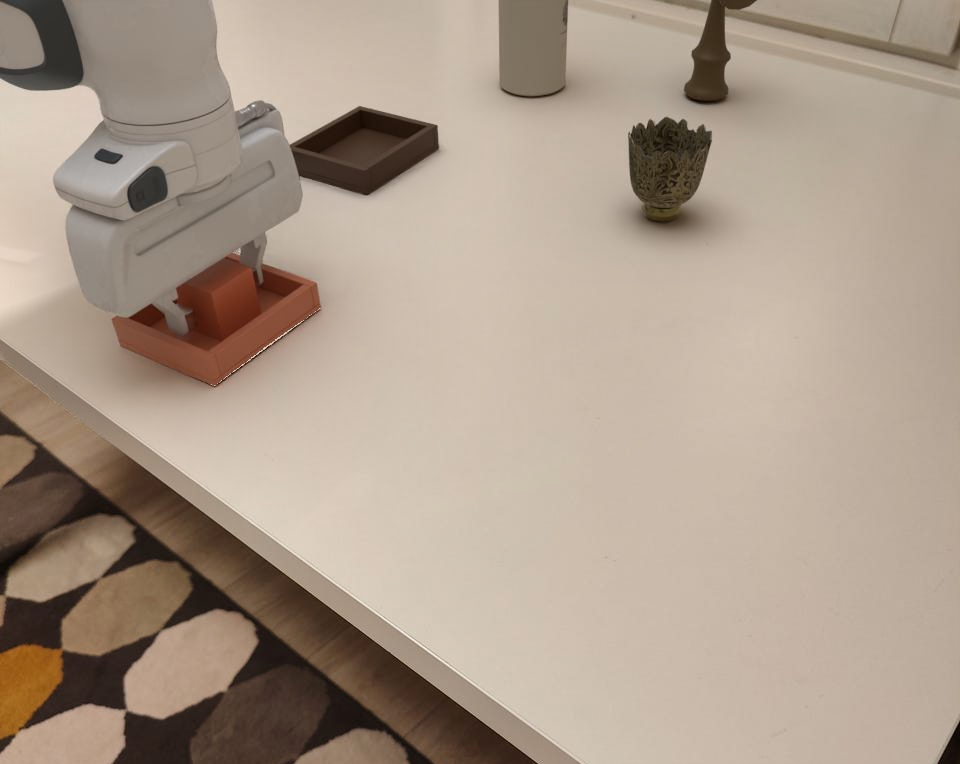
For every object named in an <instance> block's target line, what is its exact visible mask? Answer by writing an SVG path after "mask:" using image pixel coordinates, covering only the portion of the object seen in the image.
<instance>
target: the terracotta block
mask: <svg viewBox="0 0 960 764" xmlns="http://www.w3.org/2000/svg"><path fill="white" fill-rule="evenodd" d="M176 291H177V294H178V298H177V299H176V300H177V303H178V304H180V305H183V306H184V307H188V308H191V309H193V310H194V313H195V321H197V327H196V328H195V329H193V330H195V331H198V332H200V333H203V334H205V335H208V336H210V337H213V338H215V339H218V340H220V341H223V340H225V339H226V338H228V337H229V336H230V335H232V334H233V333H235V332H236V331H238V330H239V329H240V328H242V327H243V326H245V325H246V324H248V323H249V322H251V321H252V320H253V319H255V318H256V317H258V316H259V315H261V310H260V305H259V300H258V296H257V291H256V287H255V282H254V277H253V273H252V268H251V267H248V266H246V265H243V264H240V263H237V262H234V261H232V260H229V259H226V258H223V259H222V260H220V261H218V262H217V263H215V264H214V265H212V266H210V267H209V268H207V269H206V270H204V271H202V272H201V273H199V274H198V275H196V276H194V277H193V278H191V279H190V280H188V281H186V282H185V283H183V284H182V285H180V286H178V287H177V288H176Z"/></svg>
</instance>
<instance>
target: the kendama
mask: <svg viewBox="0 0 960 764" xmlns="http://www.w3.org/2000/svg"><path fill="white" fill-rule="evenodd" d="M757 1H758V0H710V5H709V8H708V12H707V15H706V20H705V24H704V27H703V30H702V34H701V36H700V40H699V42H698V44H697V45H696V47H694V48H693V49H692V50H691V58H692V60H693V70H692V74H691V77H690V79H689V80H688V81H686V83H685V84H684V87H683V92H684V93H685V95H687V97H689V98H691V99H692V100H693V99H694V100H698V101H703V102H711V101H718V100H722V99H724V98H726V97H727V96H728V95H729V86H728V85H727V83H726V78H725V70H726V66H727V64H728V62H730V60H731V58H732V54H731V52H730V51H729V50H728V48H727V42H726V9H727V10H732V11H733V10H734V11H735V10H736V11H740V10H744V9H746V8H749V7H751V6H752V5H753V4H754V3H756V2H757Z"/></svg>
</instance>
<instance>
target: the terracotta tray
mask: <svg viewBox="0 0 960 764" xmlns="http://www.w3.org/2000/svg"><path fill="white" fill-rule="evenodd" d="M225 258H226V259H229V260H232V261H234V262H237V263H239V260H240V254H237V253H235V252H233V253H231V254H230V255H228V256H226V257H225ZM261 271H262V276H263V283H262V284H260V285H259V286H257V287H256V291H257V296H258V300H259V305H260V310H261V315H259V316H258V317H256V318H255V319H253V320H252V321H251V322H249V323H248V324H246V325H245V326H243V327H242V328H240V329H239V330H238V331H236V332H235V333H233V334H232V335H230V336H229V337H228V338H226V339H225V340H223V341H220V340H218V339H215V338H213V337H210V336H208V335H205V334H203V333H200V332H198V331H195V330H192V331H190V332H189V333H187V334H186V335H184V336H180V335H178V334H175V333H173V332H172V331H171V330H170V329H169V327H168V324H167V321H166V318H165V314H164V313H162V312H161V311H160V310H159V309H158V308H156V307H155V306H154V305H153V304H150V305H148V306H146V307H145V308H143V309H142V310H140V311H138V312H137V313H135V314H134V315H132V316H130V317H127V318H123V317H120V316H117V315H114V316H113V317H112V318H111V319H110V320H111V322H112V325H113V328H114V331H115V334H116V338H117V340H118V343H119V346H120V347H122V348H125V349H127V350H129V351H132V352H134V353H136V354H138V355H141V356H143V357H145V358H147V359H150V360H152V361H154V362H156V363H159V364H162V365H163V366H166V367H168V368H171V369H173V370H175V371H177V372H179V371H180V373H181V374H184V375H186V376H189V377H191V378H193V377H194V378H193V379H195V378H197V379H196V380H198V379H199V380H198V381H200V380H202V381H204V382H203V383H205V382H207V383H209V384H212V385H213V386H212V387H214V385H217V383H219V382H220V381H221V380H223V379H224V378H225V377H226V376H228V375H229V374H230V373H232V372H233V371H234V370H236V369H237V368H239V367H240V366H241V365H242V364H244V363H246V362H247V361H248V360H249V359H251V357H253V356H254V355H256V354H257V353H258V352H259V351H261V350H263V348H264V347H266V346H267V345H269V344H270V343H272V342H273V341H275V339H277V338H278V337H280V336H281V335H283V334H284V333H285V332H287V331H288V330H290V329H291V328H293V327H294V326H295V325H297V324H298V323H300V322H301V321H303V320H305V319H306V318H307V317H309V315H311V314H313V313H314V312H315V311H317V310H318V309H319V308H321V309H322V305H321V300H320V293H319V288H318V283H317V281H314V280H311V279H309V278H305V277H303V276H300V275H297V274H294V273H291V272H289V271H286V270H283V269H280V268H277V267H274V266H272V265H268V264H265V263H263V262H262V265H261ZM172 301H173V303H175V304H177V300H172ZM202 381H201V382H202ZM207 383H206V384H207ZM209 384H208V385H209ZM217 386H218V385H217Z"/></svg>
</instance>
